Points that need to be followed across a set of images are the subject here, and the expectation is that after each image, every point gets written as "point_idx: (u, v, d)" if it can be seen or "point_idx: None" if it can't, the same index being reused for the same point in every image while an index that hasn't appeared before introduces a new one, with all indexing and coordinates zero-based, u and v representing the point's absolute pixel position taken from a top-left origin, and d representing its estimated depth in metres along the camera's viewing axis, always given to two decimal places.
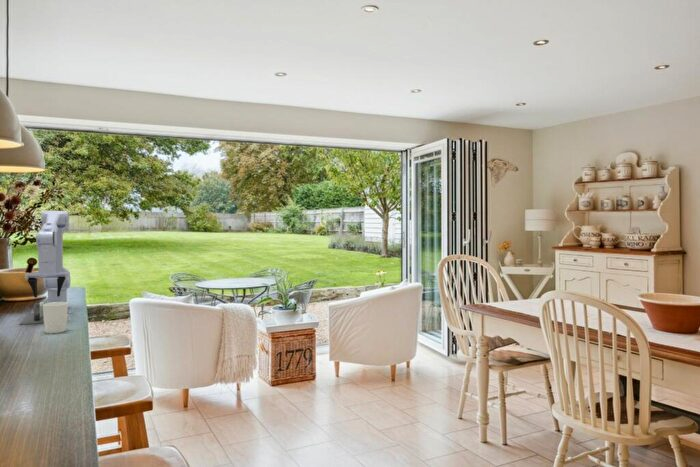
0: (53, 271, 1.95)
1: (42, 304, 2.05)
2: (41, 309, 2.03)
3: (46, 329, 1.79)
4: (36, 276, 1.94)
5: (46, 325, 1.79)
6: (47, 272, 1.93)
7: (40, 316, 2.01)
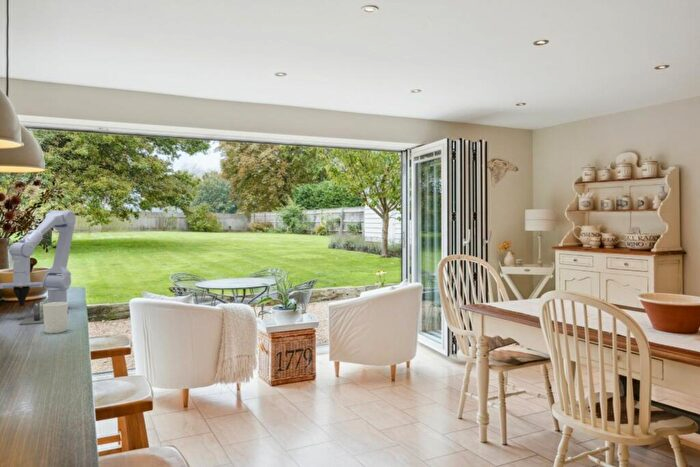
0: (27, 281, 2.02)
1: (42, 304, 2.05)
2: (41, 309, 2.03)
3: (46, 329, 1.79)
4: (11, 286, 2.01)
5: (46, 325, 1.79)
6: (21, 282, 2.00)
7: (40, 316, 2.01)
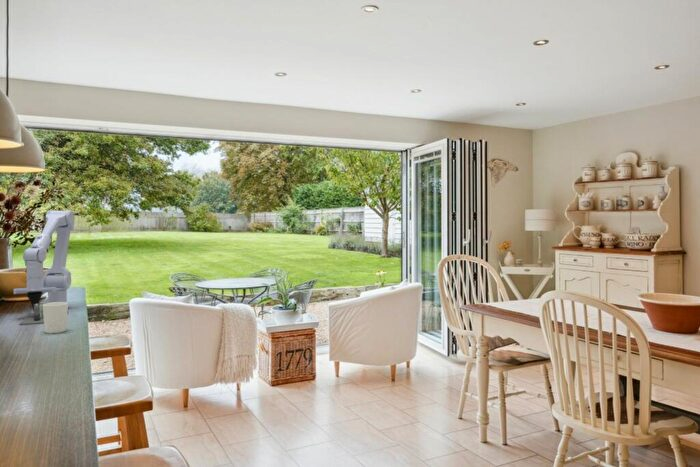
0: (41, 286, 2.04)
1: (42, 304, 2.05)
2: (41, 309, 2.03)
3: (46, 329, 1.79)
4: (24, 291, 2.03)
5: (46, 325, 1.79)
6: (35, 287, 2.02)
7: (40, 316, 2.01)
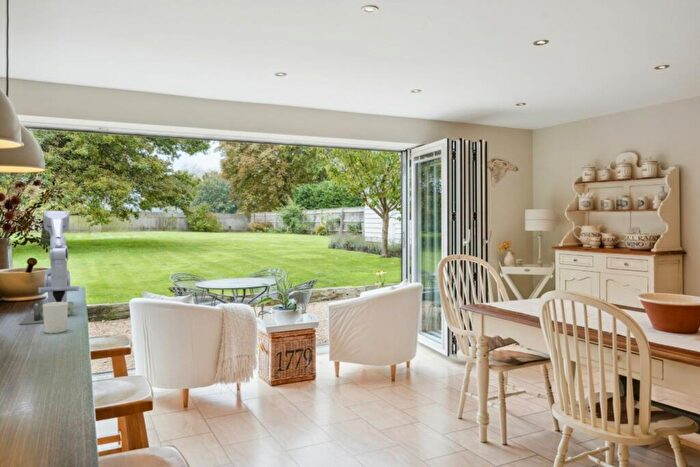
0: (65, 285, 2.08)
1: None
2: None
3: (46, 329, 1.79)
4: (49, 290, 2.06)
5: (46, 325, 1.79)
6: (59, 286, 2.06)
7: None
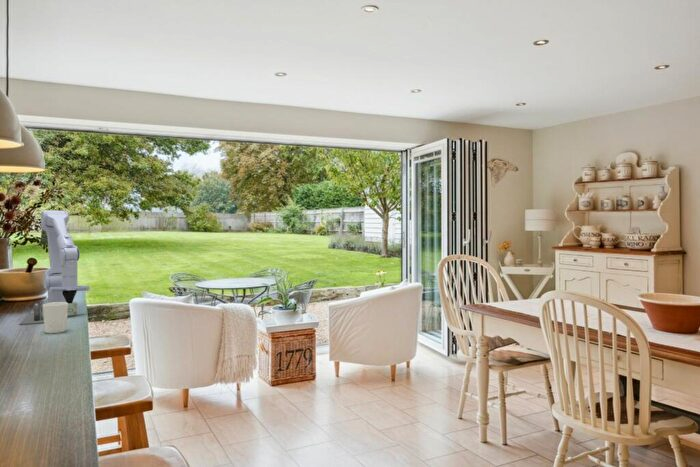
0: (75, 285, 2.09)
1: None
2: None
3: (46, 329, 1.79)
4: None
5: (46, 325, 1.79)
6: (70, 286, 2.07)
7: None
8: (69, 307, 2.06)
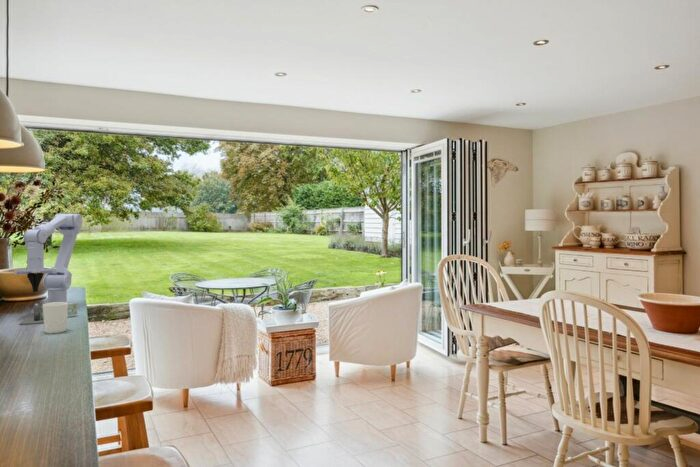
0: (41, 267, 2.06)
1: None
2: None
3: (46, 329, 1.79)
4: (25, 272, 2.05)
5: (46, 325, 1.79)
6: (35, 268, 2.04)
7: None
8: (69, 307, 2.06)
